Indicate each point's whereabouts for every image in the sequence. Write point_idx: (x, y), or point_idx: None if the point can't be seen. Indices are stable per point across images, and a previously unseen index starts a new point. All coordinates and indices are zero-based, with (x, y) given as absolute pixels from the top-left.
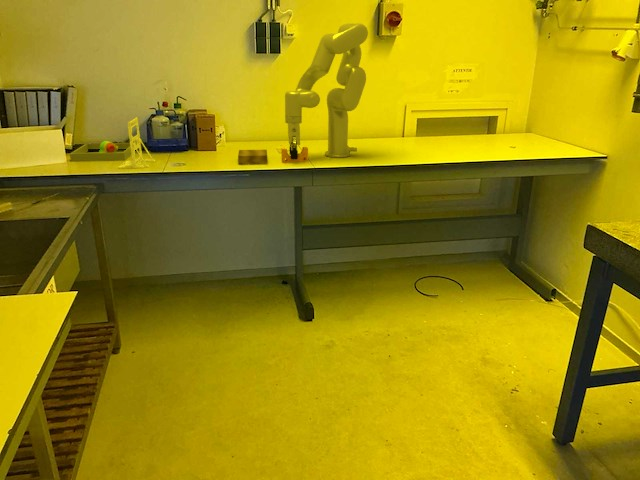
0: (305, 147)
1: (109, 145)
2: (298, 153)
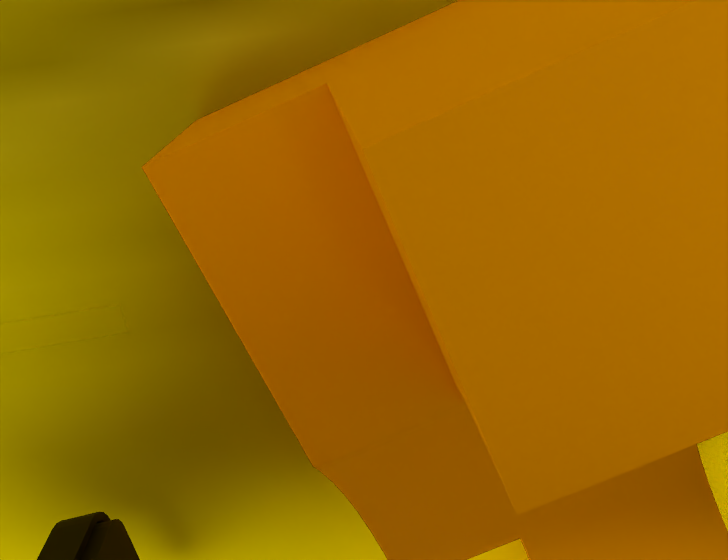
0: (718, 216)
1: None
2: (330, 455)
